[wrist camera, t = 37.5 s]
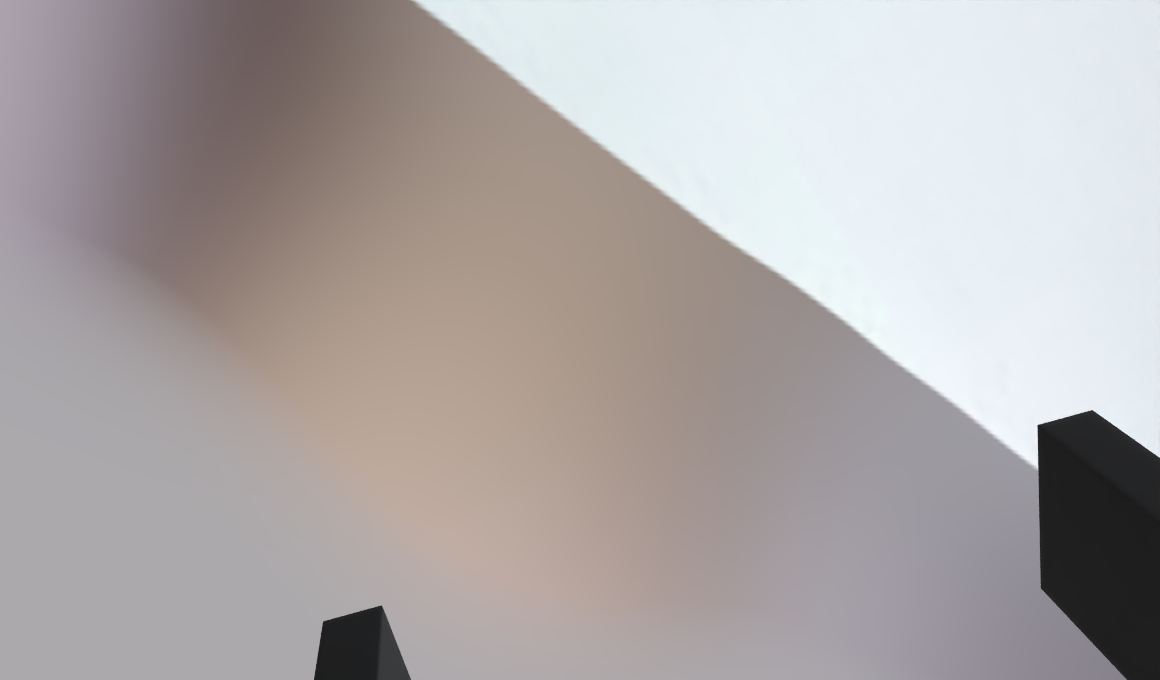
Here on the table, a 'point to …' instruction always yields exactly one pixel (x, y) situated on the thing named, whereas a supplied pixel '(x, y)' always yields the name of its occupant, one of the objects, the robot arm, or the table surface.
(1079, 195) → the table surface
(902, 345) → the table surface
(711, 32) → the table surface
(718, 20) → the table surface
